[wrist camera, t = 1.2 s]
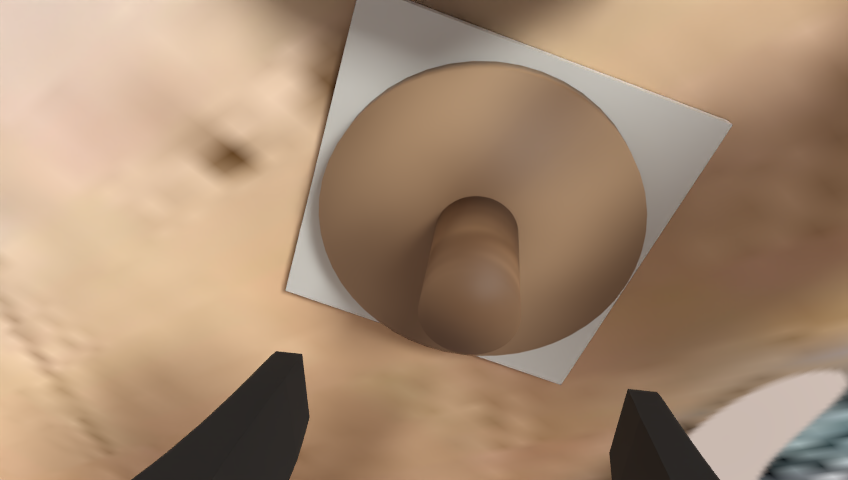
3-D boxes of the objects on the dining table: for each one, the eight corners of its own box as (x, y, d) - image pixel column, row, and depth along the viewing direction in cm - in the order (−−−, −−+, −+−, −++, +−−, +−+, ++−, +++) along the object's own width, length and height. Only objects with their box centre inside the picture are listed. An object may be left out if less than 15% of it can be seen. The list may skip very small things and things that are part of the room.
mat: (728, 120, 18) (732, 125, 17) (560, 378, 24) (561, 384, 23) (363, -18, 17) (360, -16, 17) (288, 284, 23) (285, 290, 23)
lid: (708, 132, 17) (782, 216, 13) (555, 372, 23) (567, 491, 18) (371, 8, 17) (319, 47, 12) (299, 285, 23) (245, 386, 18)
